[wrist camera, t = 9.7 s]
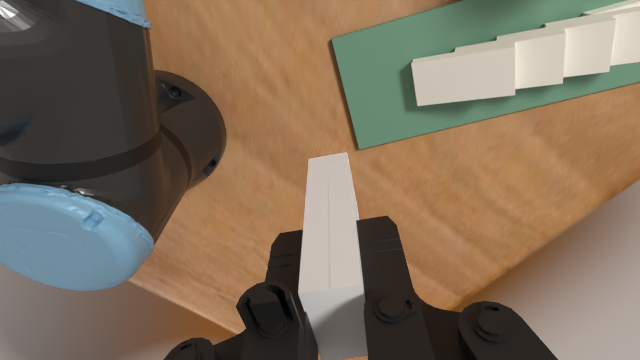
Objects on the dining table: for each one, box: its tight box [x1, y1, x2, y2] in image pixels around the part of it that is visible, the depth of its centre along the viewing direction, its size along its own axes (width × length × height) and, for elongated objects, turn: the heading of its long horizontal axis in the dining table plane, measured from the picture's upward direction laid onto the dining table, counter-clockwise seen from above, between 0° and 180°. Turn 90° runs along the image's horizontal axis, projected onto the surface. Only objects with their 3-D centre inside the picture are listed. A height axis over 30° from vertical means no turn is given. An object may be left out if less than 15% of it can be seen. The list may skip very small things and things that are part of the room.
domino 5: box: [545, 6, 640, 66], centre depth 37 cm, size 2×5×10 cm
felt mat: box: [331, 0, 640, 150], centre depth 41 cm, size 34×14×1 cm, turn 106°
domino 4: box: [582, 0, 640, 16], centre depth 38 cm, size 2×5×10 cm
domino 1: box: [411, 42, 515, 106], centre depth 39 cm, size 2×5×10 cm
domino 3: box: [497, 16, 616, 77], centre depth 38 cm, size 2×5×10 cm
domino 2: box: [455, 29, 566, 89], centre depth 39 cm, size 2×5×10 cm
